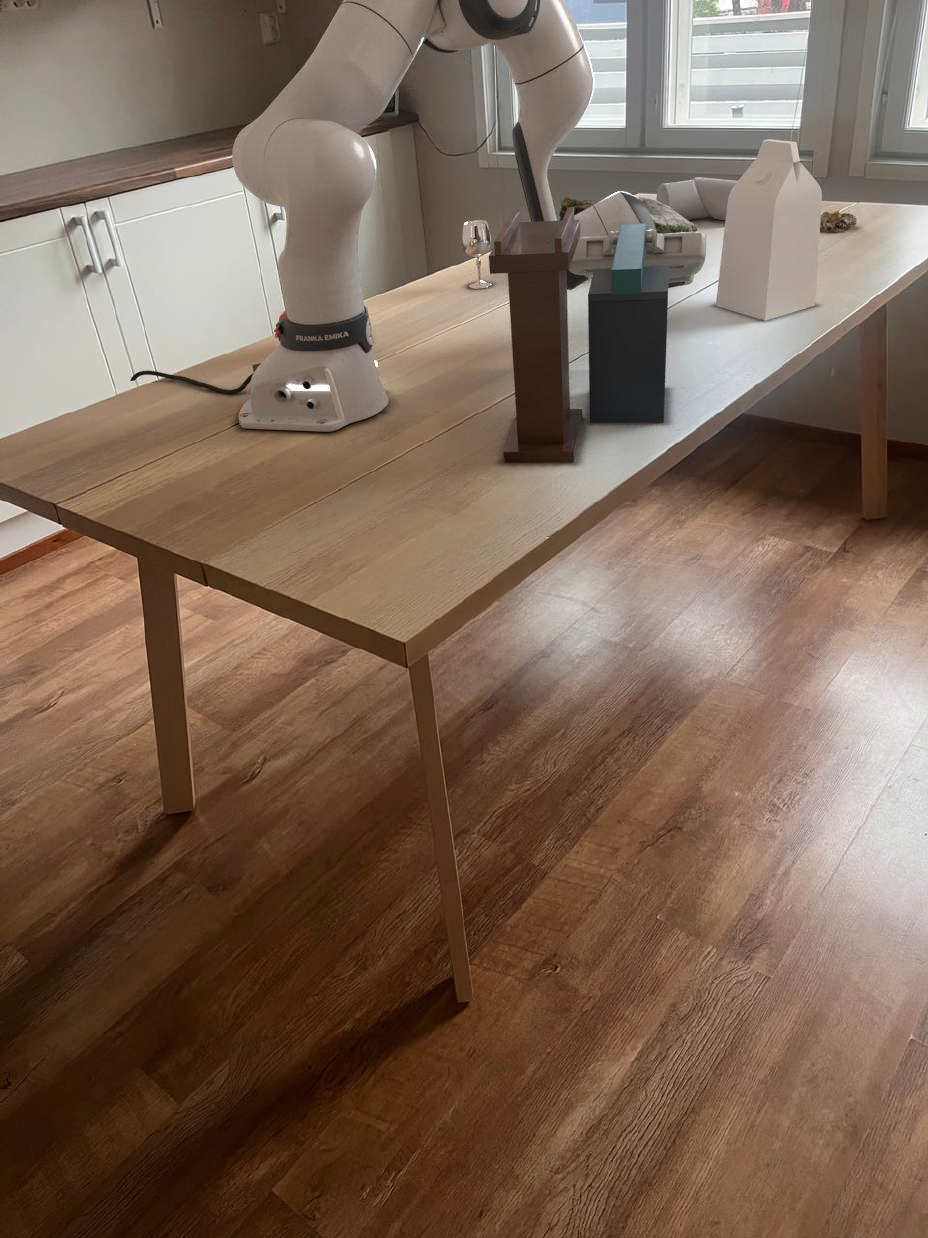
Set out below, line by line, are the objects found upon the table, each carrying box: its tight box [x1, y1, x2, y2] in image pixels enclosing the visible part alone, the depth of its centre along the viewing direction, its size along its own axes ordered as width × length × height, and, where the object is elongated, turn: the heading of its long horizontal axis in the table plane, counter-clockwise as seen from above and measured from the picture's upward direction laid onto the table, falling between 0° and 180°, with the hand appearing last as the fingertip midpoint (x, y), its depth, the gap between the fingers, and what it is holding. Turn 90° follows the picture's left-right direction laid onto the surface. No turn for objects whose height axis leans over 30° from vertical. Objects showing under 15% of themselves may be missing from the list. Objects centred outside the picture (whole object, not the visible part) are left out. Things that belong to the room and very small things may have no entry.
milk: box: [715, 138, 823, 322], centre depth 159 cm, size 12×12×26 cm
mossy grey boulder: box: [558, 196, 698, 234], centre depth 196 cm, size 29×30×15 cm
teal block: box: [612, 223, 646, 295], centre depth 124 cm, size 23×4×3 cm, turn 170°
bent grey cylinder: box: [655, 176, 738, 221], centre depth 219 cm, size 18×11×20 cm
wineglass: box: [461, 219, 492, 290], centre depth 189 cm, size 6×6×12 cm
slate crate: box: [587, 266, 669, 424], centre depth 130 cm, size 12×10×18 cm
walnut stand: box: [488, 207, 584, 463], centre depth 120 cm, size 16×9×28 cm, turn 169°
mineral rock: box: [820, 210, 858, 233], centre depth 205 cm, size 11×4×8 cm
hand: (632, 236), depth 131 cm, fingers closed on teal block, 3 cm apart
